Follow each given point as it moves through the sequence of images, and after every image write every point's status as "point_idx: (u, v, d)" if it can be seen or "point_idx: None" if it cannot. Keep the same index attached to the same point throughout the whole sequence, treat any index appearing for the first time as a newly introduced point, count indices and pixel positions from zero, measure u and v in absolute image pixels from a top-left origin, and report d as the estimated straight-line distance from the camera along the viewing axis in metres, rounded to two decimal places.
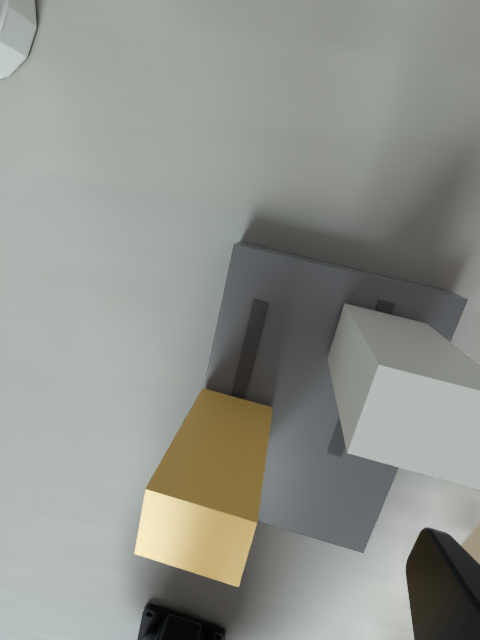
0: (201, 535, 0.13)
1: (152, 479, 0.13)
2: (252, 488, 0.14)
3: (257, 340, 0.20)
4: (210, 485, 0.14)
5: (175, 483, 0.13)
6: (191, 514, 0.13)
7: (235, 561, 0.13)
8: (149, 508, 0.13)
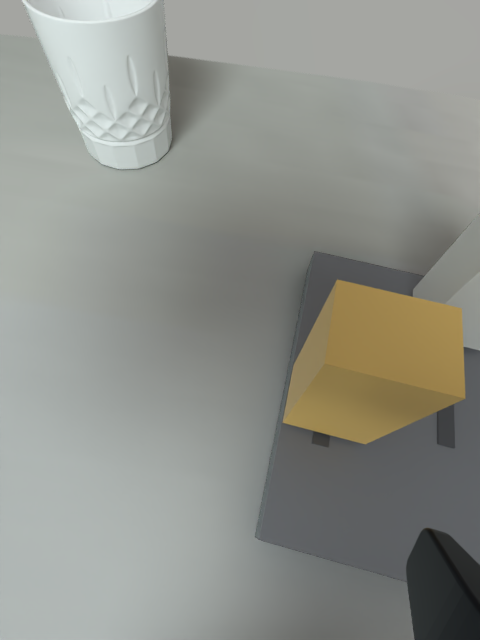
0: (405, 329, 0.11)
1: (334, 288, 0.12)
2: None
3: None
4: None
5: None
6: (391, 303, 0.12)
7: (451, 359, 0.11)
8: (342, 300, 0.12)
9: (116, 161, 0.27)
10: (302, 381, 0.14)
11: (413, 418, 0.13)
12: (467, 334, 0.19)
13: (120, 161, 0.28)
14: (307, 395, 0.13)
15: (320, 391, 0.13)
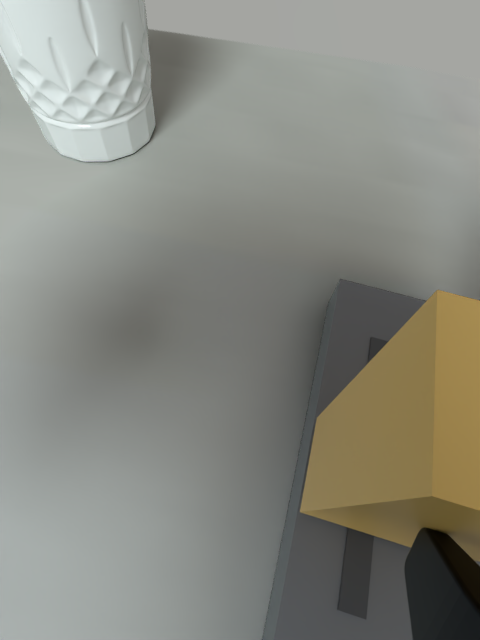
0: None
1: (424, 307, 0.06)
2: None
3: None
4: None
5: None
6: None
7: None
8: (454, 336, 0.05)
9: (78, 150, 0.21)
10: (344, 472, 0.08)
11: None
12: None
13: (83, 150, 0.21)
14: (357, 509, 0.07)
15: (389, 513, 0.06)
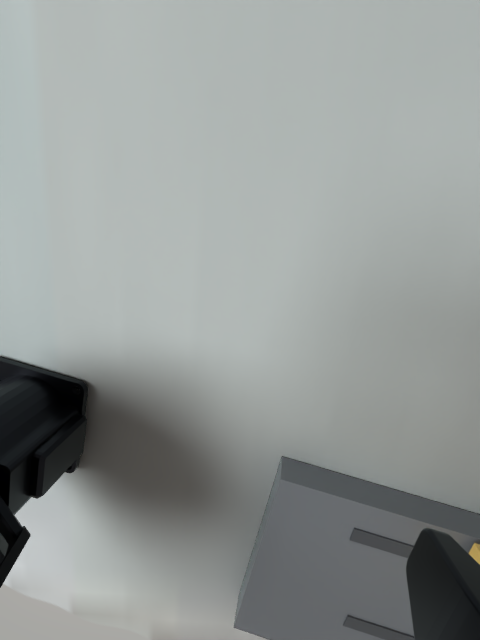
0: None
1: None
2: None
3: None
4: None
5: None
6: None
7: None
8: None
9: None
10: None
11: None
12: None
13: None
14: None
15: None
